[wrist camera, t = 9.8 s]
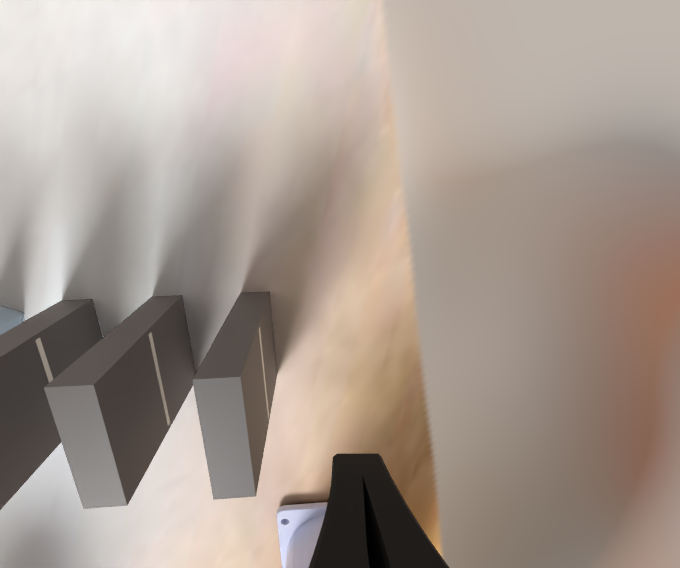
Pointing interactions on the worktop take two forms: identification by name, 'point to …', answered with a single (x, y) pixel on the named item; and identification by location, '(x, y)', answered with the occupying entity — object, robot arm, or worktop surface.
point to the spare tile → (9, 319)
